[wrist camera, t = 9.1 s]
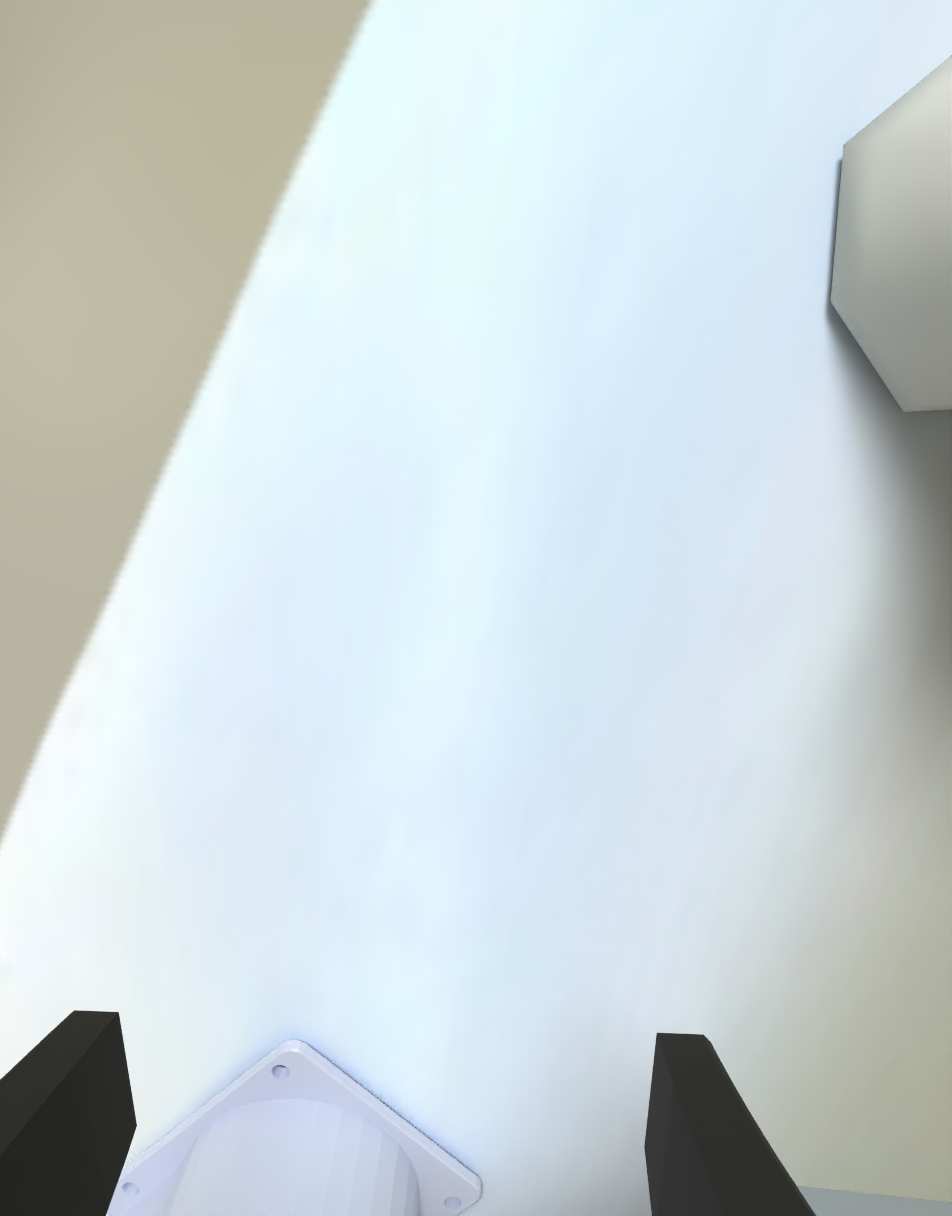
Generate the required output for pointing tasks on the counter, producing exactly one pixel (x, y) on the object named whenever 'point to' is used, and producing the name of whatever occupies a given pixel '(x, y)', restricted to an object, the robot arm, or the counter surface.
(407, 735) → the counter surface
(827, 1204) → the slate block
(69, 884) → the counter surface
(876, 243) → the flask
